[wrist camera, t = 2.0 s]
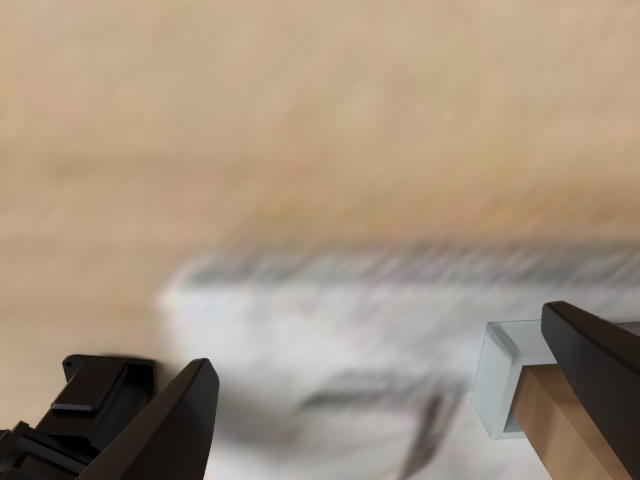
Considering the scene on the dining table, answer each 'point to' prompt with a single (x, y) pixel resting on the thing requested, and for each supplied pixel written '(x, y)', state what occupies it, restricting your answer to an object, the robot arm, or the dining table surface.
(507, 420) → the sleeve
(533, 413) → the walnut block
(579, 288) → the dining table surface
